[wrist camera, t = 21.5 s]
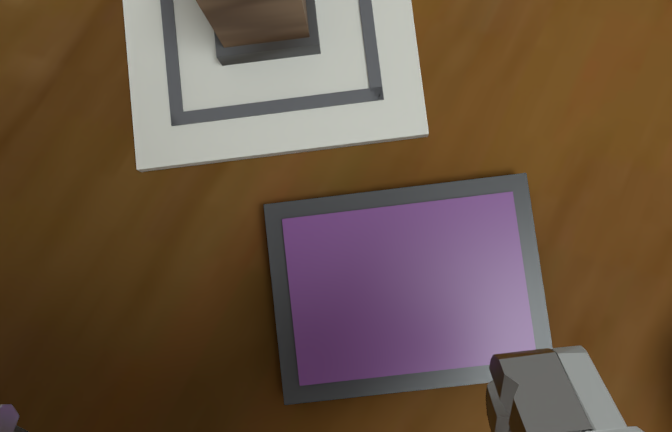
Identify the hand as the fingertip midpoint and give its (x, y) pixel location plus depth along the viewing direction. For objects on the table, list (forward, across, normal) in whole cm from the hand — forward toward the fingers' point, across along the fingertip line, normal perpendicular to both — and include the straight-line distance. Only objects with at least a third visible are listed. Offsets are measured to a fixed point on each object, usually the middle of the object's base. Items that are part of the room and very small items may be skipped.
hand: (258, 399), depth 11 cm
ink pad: (+14, -5, +11) cm, 19 cm away
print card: (+24, 0, +1) cm, 24 cm away
